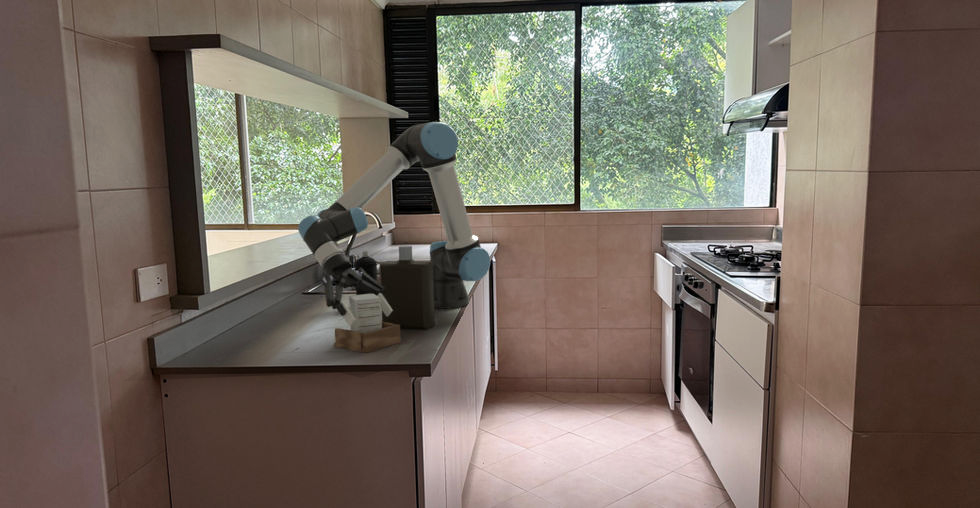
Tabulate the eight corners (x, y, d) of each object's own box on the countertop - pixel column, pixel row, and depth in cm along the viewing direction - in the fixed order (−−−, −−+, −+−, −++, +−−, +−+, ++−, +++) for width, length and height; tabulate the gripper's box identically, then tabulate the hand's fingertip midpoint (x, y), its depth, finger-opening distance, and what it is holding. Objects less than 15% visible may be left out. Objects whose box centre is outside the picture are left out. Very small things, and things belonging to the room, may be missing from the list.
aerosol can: (377, 308, 230) (374, 252, 227) (353, 308, 230) (350, 252, 228) (381, 303, 238) (378, 249, 236) (358, 303, 238) (356, 249, 236)
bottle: (427, 330, 196) (424, 248, 193) (379, 327, 201) (375, 247, 197) (437, 324, 204) (434, 245, 201) (390, 321, 208) (386, 244, 205)
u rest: (334, 346, 181) (333, 328, 180) (369, 335, 191) (368, 319, 190) (366, 353, 173) (365, 334, 172) (400, 342, 183) (399, 324, 183)
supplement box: (350, 339, 184) (348, 295, 182) (376, 336, 187) (374, 292, 185) (356, 345, 177) (354, 300, 175) (383, 342, 180) (381, 297, 178)
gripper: (360, 263, 199) (397, 317, 191) (291, 275, 179) (330, 335, 172) (371, 247, 195) (409, 301, 188) (302, 257, 175) (342, 318, 168)
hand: (372, 318), depth 180 cm, fingers open, 13 cm apart
